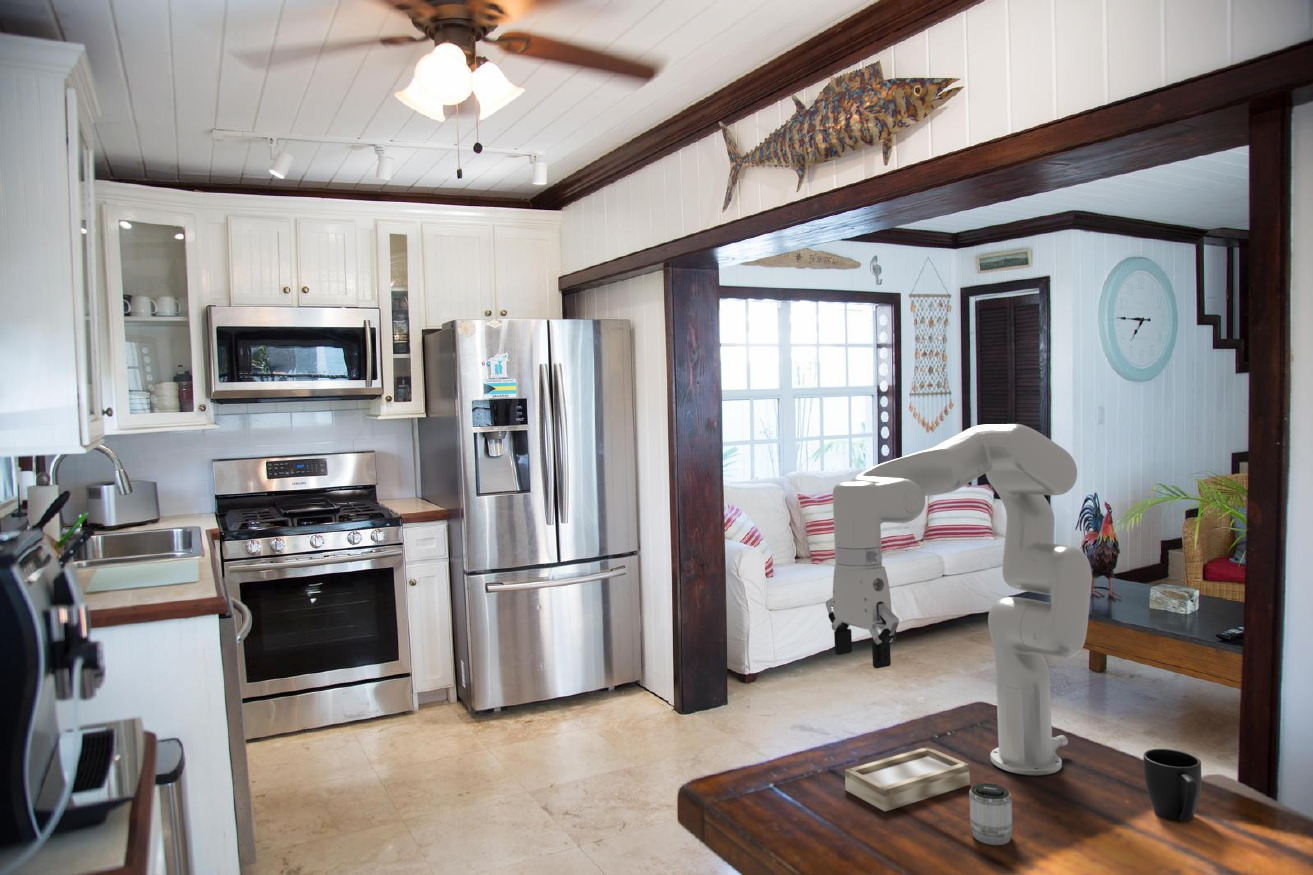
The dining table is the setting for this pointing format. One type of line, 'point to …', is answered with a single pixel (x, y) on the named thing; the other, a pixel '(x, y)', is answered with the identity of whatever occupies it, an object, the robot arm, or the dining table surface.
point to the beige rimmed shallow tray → (906, 778)
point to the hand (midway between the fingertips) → (862, 660)
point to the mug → (1173, 783)
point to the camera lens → (991, 813)
